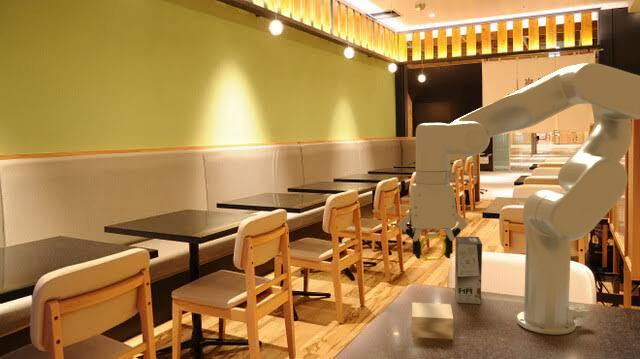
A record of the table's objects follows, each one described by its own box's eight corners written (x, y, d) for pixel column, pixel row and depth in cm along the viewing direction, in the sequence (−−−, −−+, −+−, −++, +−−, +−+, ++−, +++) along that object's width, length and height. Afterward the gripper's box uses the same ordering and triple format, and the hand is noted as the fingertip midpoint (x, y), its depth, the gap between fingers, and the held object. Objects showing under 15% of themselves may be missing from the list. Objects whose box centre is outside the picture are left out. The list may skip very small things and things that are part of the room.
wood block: (450, 324, 123) (450, 304, 123) (453, 340, 115) (453, 318, 114) (412, 322, 125) (412, 302, 125) (411, 338, 116) (411, 316, 116)
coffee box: (481, 304, 135) (482, 243, 134) (456, 303, 137) (457, 243, 135) (478, 292, 144) (479, 236, 142) (454, 291, 146) (455, 235, 144)
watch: (422, 262, 116) (420, 236, 116) (418, 259, 119) (416, 234, 118) (448, 259, 117) (446, 233, 116) (443, 256, 120) (441, 231, 119)
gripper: (467, 175, 119) (466, 252, 122) (391, 177, 120) (392, 253, 122) (476, 179, 112) (475, 260, 114) (396, 181, 112) (396, 262, 114)
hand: (432, 256), depth 118 cm, fingers closed on watch, 6 cm apart
